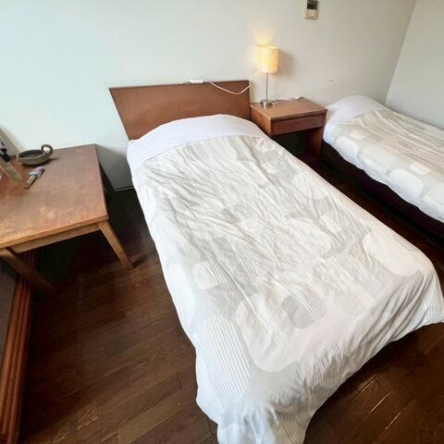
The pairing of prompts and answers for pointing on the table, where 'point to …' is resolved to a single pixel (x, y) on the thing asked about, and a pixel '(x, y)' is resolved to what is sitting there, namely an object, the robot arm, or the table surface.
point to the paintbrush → (33, 176)
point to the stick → (10, 170)
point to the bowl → (35, 155)
